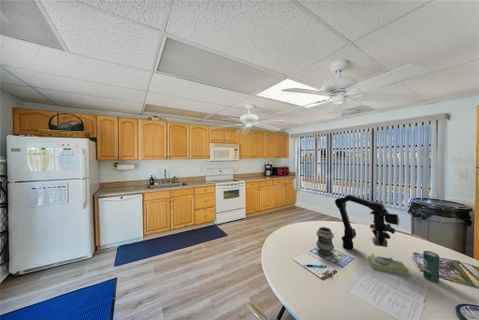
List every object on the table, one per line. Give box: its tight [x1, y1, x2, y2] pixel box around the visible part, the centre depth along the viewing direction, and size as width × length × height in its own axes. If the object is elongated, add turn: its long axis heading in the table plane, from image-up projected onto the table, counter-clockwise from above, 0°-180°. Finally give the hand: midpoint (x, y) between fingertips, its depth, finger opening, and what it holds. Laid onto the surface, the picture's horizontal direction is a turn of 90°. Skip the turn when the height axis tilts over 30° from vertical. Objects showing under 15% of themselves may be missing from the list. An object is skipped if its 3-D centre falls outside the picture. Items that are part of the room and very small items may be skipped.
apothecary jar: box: [316, 226, 335, 257], centre depth 130 cm, size 12×12×18 cm
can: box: [422, 250, 440, 283], centre depth 101 cm, size 6×6×15 cm
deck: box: [367, 254, 409, 277], centre depth 114 cm, size 18×14×4 cm
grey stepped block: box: [371, 236, 388, 248], centre depth 120 cm, size 7×5×4 cm
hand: (379, 243), depth 120 cm, fingers closed on grey stepped block, 5 cm apart
